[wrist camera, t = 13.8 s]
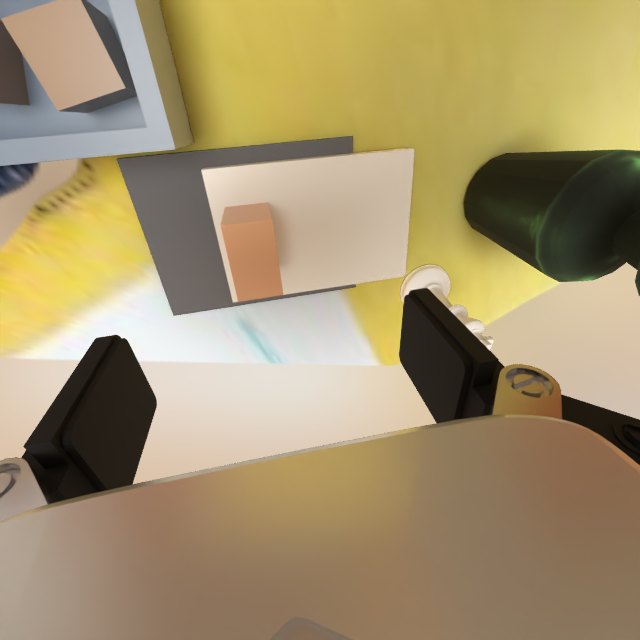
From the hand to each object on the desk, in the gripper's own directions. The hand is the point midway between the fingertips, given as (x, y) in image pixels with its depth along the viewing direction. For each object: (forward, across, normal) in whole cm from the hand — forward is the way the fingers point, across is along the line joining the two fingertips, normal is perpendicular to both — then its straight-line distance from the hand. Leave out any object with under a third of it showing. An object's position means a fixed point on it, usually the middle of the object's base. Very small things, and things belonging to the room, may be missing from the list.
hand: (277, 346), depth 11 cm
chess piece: (+17, -14, +9) cm, 24 cm away
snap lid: (+17, -4, +1) cm, 17 cm away
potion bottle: (+18, -20, +1) cm, 27 cm away
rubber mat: (+17, +1, +1) cm, 17 cm away
